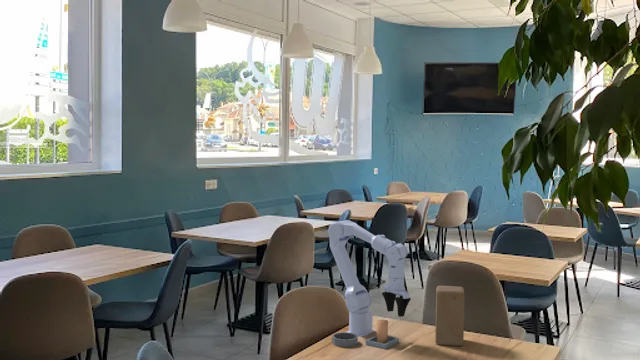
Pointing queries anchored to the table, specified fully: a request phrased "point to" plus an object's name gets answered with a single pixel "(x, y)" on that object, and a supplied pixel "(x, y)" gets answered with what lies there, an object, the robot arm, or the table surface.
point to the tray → (374, 343)
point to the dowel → (382, 331)
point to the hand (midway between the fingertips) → (395, 313)
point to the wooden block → (449, 315)
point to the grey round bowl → (345, 339)
